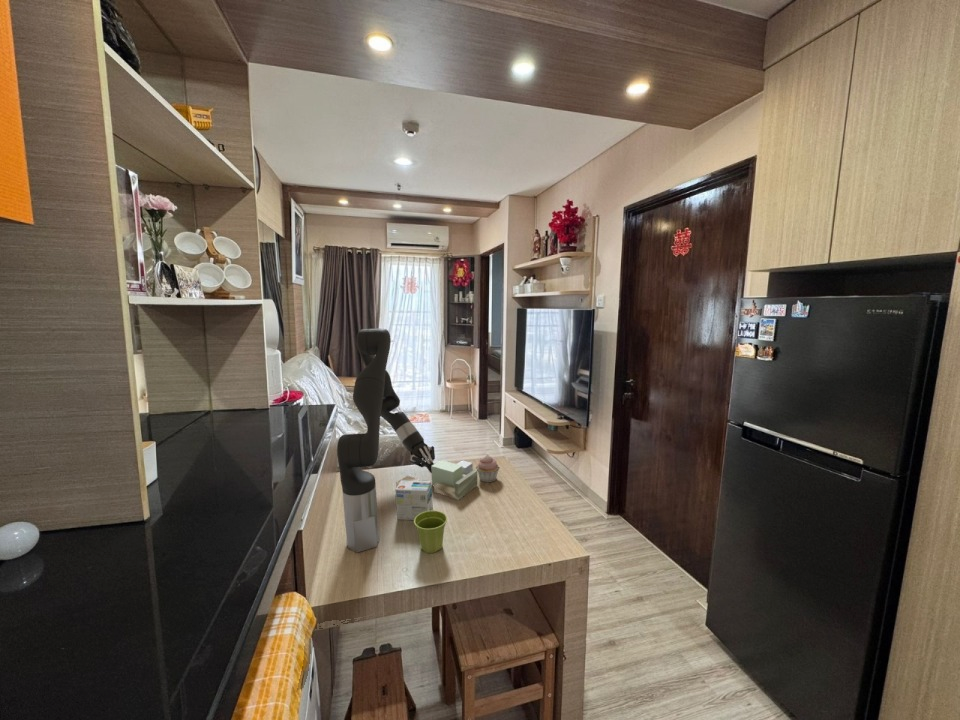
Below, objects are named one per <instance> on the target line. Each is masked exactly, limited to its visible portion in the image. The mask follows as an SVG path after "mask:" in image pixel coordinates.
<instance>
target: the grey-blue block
mask: <svg viewBox="0 0 960 720" xmlns="http://www.w3.org/2000/svg"><path fill="white" fill-rule="evenodd" d="M456 464H458V465H462V468H463V474H465V475H467V474H469V473H470V472H471V471H473V470H474V469H473V467H474V466H473V464H474V463H473V462H470V461H466V460H461V461H459V462H457V463H456Z"/></svg>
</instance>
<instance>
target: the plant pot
mask: <svg viewBox="0 0 960 720" xmlns="http://www.w3.org/2000/svg"><path fill="white" fill-rule="evenodd" d="M447 522H448V517H447V514H445V513H444V512H443V511H439V510H433V511H426V512H423V513H420V514H418V515H417V516H416V517H415V519H414V520H413V524H414V526H415V528H416V530H417V533H418V534H417V535H418V539H419V544H420V548H421V550H422V551H423V552H424V553H427V554H433V553H436V552H437V551H441V549H442V548H443V541H444V533H445V527H446V523H447Z"/></svg>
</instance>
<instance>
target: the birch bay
mask: <svg viewBox="0 0 960 720" xmlns="http://www.w3.org/2000/svg"><path fill="white" fill-rule="evenodd" d="M477 485H478V471H477V469H473V471H471V472H470V473H469V474H467V475H465V474H463V478H462V479H460V480H459V481H457V482H456V483H455V488H452V487H449V486H446V485H443V484H439V483H435V484H434V486H433V487H434V488H433V490H434V491H435V492H434V491H433V492H434V493H436V492H438V493H437V494H439V493H441V494H440V495H442V494H444V495H443V496H445V495H447V496H446V497H448V496H450V497H449V498H451V497H452V498H451V499H454V498H455V499H454V500H457V501H460V500H462V498H463V496H464V497H465V496H466V495H467V494H469V493H470V492H471V491H473V490H474V489H475V488H476V487H478V486H477ZM474 487H475V488H474ZM473 488H474V489H473ZM472 489H473V490H472ZM469 491H470V492H469ZM468 492H469V493H468ZM459 499H460V500H459Z"/></svg>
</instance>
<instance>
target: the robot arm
mask: <svg viewBox="0 0 960 720" xmlns="http://www.w3.org/2000/svg"><path fill="white" fill-rule="evenodd" d="M391 339H392V338H391V333H390V332H389V330H388V329H386V328H382V327H381V328H363V329H360V330H358V332H357V335H356V346H357V350H358V352H359V355H360V357H361V359H362V361H363V364H364V366H365V367H364V368H363V369H362V370H361V371H360V373H359V374H358V375H357V376H356V378H355V381H354V388H353V393H352V399H353V403H354V406H355V407H356V409H357V410H358V412H359V413H360V415H361V416H362V418H363V420H364V421H365V424H366V427H367V431H366V432H365V433H346V434H342V435H340V437H339V438H338V441H337V443H336V456H337V457H336V458H337V463H338V470H339V476H340V477H339V478H340V484H341V489H342V501H343V511H344V512H343V514H344V524H345V534H346V535H345V536H346V545H347V547H348V548H349V549H350V550H351V551H354V552H355V554H357V553H360V552H363V551H367V550H370V549H372V548H376V547H378V543H379V542H380V527H379V513H378V502H377V501H378V500H377V488H376V486H377V485H376V484H377V483H376V477H375V475H374V474H373V473H372V472H369V471H366V470H364V469H360V468H363V467H365V468H367V467H373V466H374V465H375V464H376V463H377V460H378V457H379V445H380V427H381V426H380V425H381V418H383V419H384V420H385V421H386V422H387V423H388V424H389V425H390V427H391V428H392V429H393V431H394V432H395V434H396V436H397V437H398V439H399V440H400V442H401V443H402V445H403V446H404V447H405V449H406V451H407V452H409V454H410V455H411V457H410V459H409V462H410V463H412V464H413V465H416V466H417V467H420V468H424V467H425V468H426V469H427V470H428V472H429V473H430V474H431V475H432V472H431V466H432V465H434V464H435V463H434V461H435V459H436V453H435V446H428V444H427V443H425V438H424V437H423V435H421V433H420V432H419V430H418V429H417V427H416V426H415V425H414V424H413V423H412V421H411V420H410V419H409V417H408V416H407V415H406V413H405V412H403V411H398V412H395V413H394V412H393V413H392V411H394V410H396V409H397V408H398V407H399V406H400V404H401V399H400V397H399V396H398V394H397V393H396V392H395V390H394V388H393V384H392V379H391V376H390V373H389V372H388V371H387V364H388V359H389V355H390V350H391V349H390V348H391V342H392V341H391Z"/></svg>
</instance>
